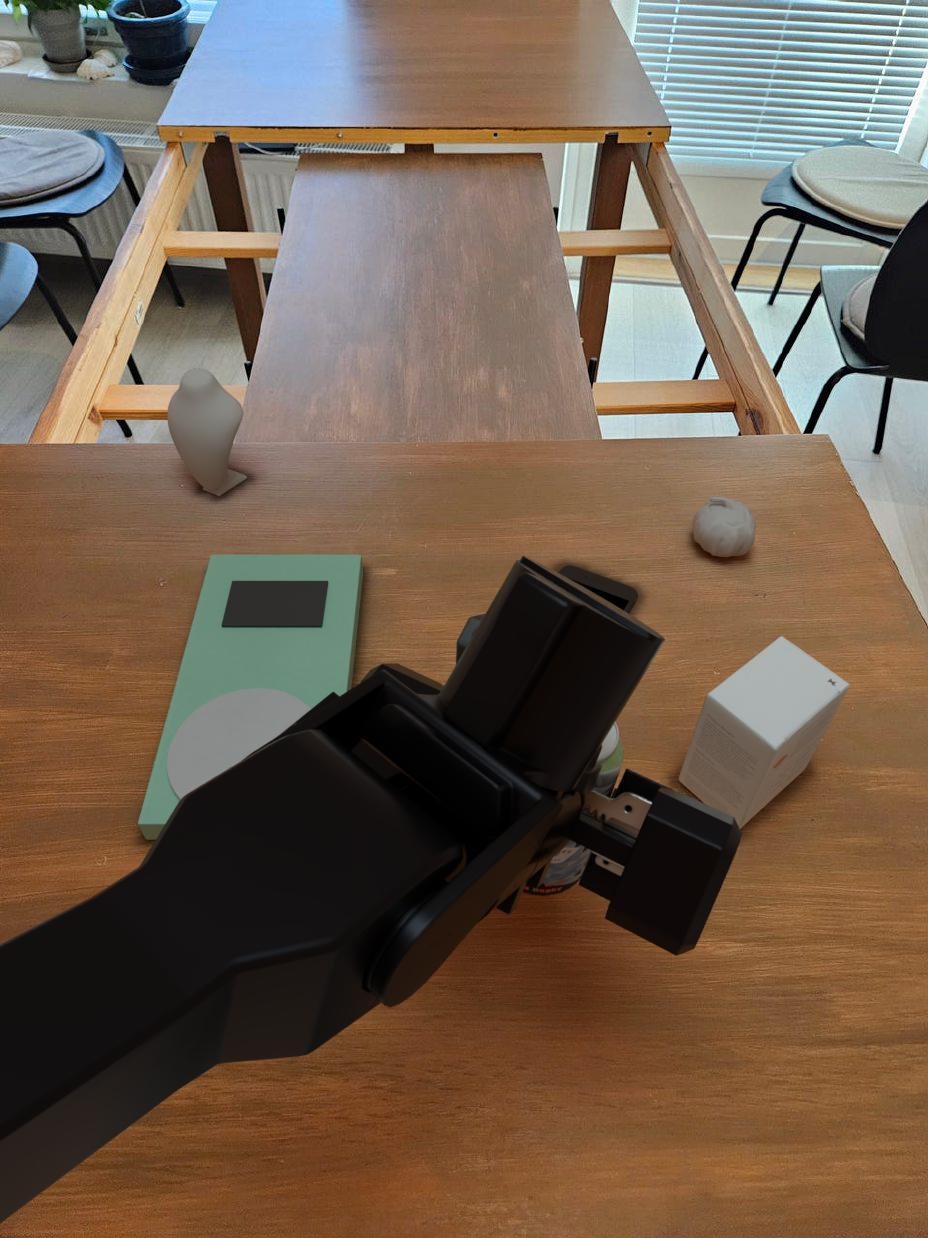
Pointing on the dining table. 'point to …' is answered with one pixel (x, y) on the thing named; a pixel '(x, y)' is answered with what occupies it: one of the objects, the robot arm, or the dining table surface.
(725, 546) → the garlic
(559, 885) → the beverage can
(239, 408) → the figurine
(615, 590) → the smartphone
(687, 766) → the small box
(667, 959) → the dining table surface
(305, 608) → the scale
